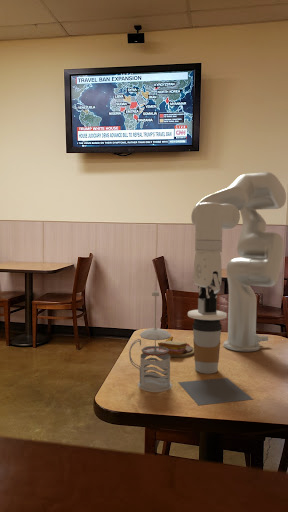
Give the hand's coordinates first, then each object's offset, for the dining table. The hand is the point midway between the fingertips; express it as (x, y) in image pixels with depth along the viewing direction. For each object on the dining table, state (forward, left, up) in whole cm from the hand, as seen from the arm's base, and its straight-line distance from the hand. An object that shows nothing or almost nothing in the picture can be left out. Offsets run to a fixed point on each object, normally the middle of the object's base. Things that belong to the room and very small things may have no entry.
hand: (207, 309), depth 110 cm
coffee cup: (0, 0, -18) cm, 18 cm away
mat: (+4, +14, -18) cm, 23 cm away
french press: (+18, +7, -18) cm, 27 cm away
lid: (0, 0, -2) cm, 2 cm away
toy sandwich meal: (+3, -19, -19) cm, 27 cm away
